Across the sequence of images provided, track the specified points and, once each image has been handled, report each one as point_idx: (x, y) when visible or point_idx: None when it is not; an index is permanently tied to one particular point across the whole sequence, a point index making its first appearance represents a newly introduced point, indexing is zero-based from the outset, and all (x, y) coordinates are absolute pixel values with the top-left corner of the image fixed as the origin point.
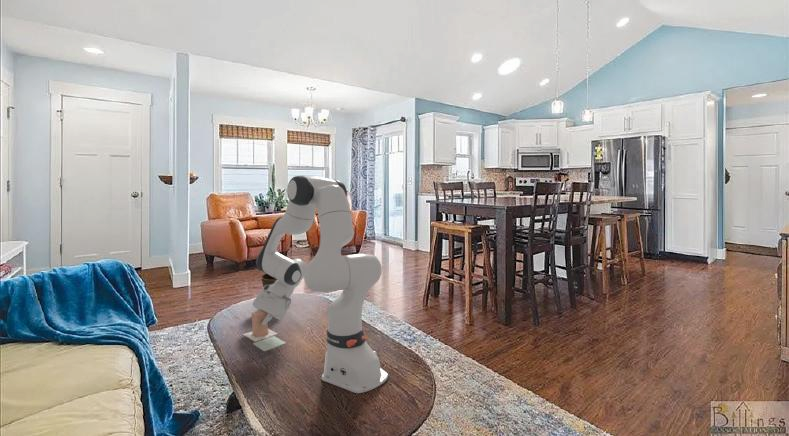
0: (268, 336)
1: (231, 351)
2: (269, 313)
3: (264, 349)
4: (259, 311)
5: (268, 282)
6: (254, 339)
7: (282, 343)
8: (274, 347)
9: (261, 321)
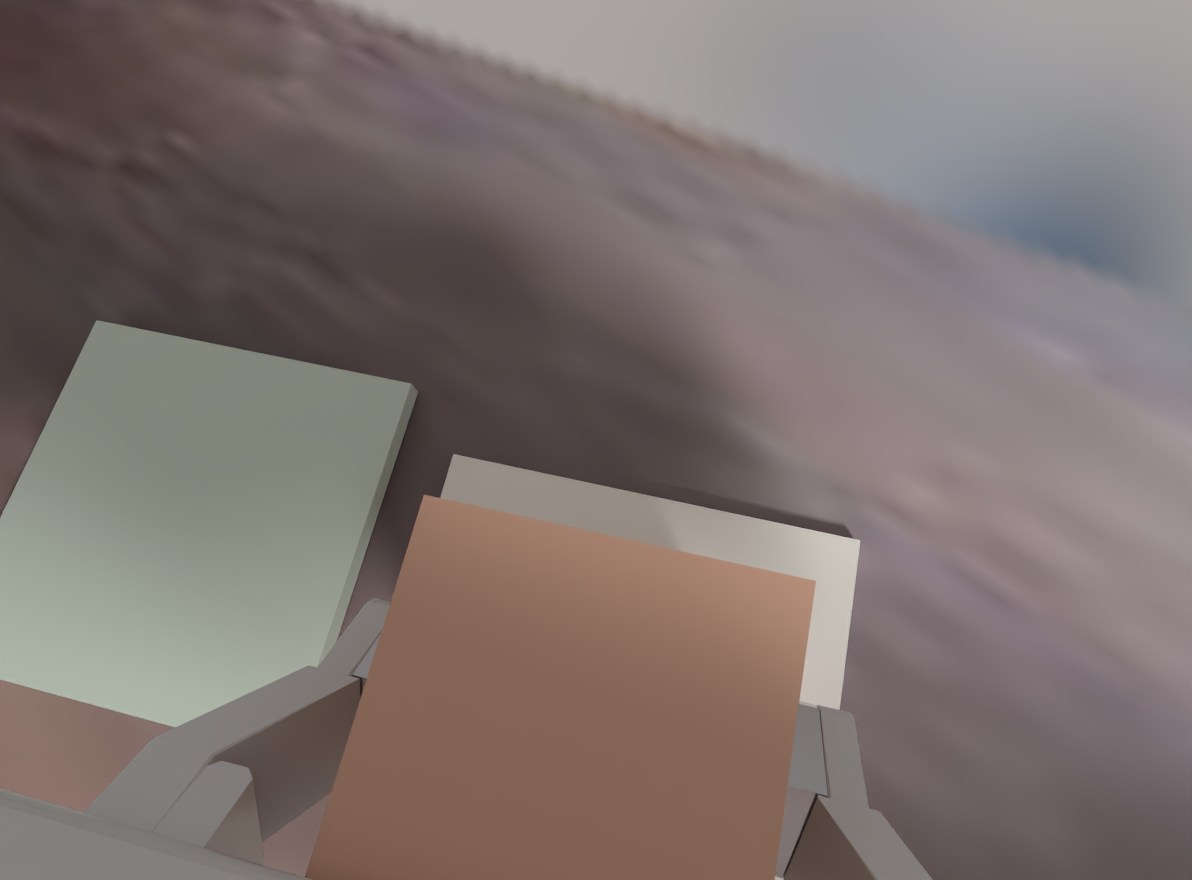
0: None
1: (516, 147)
2: (10, 792)
3: (118, 343)
4: (679, 851)
5: None
6: (516, 503)
7: None
8: (33, 464)
9: None
